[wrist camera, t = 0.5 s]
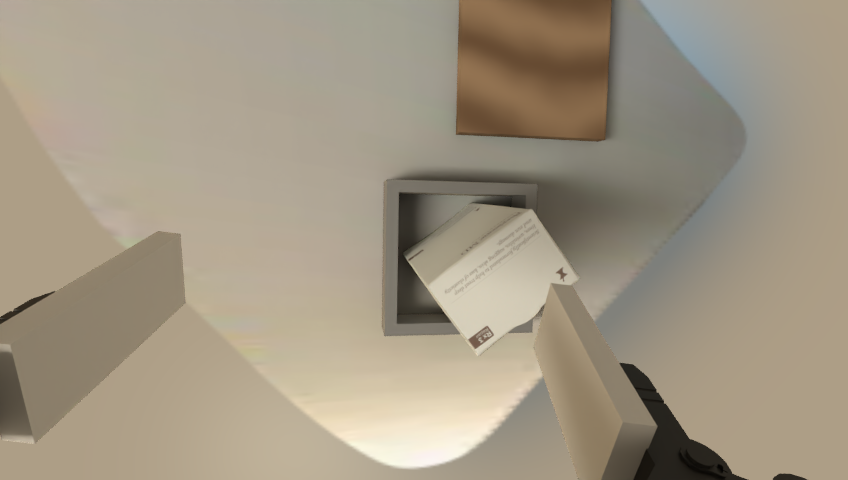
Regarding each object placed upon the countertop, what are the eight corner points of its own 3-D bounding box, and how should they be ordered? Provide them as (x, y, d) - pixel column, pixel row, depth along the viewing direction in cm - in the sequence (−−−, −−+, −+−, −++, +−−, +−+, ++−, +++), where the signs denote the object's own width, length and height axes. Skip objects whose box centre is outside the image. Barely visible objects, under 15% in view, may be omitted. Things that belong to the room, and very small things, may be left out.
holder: (383, 182, 40) (386, 179, 36) (522, 186, 42) (537, 184, 38) (381, 325, 41) (384, 336, 37) (517, 322, 43) (532, 332, 39)
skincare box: (470, 201, 41) (535, 197, 27) (506, 253, 42) (589, 276, 27) (397, 256, 40) (423, 282, 26) (435, 307, 41) (481, 361, 27)
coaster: (459, -25, 40) (463, -32, 38) (604, -10, 42) (612, -16, 41) (456, 134, 41) (459, 132, 39) (598, 141, 43) (605, 139, 42)
